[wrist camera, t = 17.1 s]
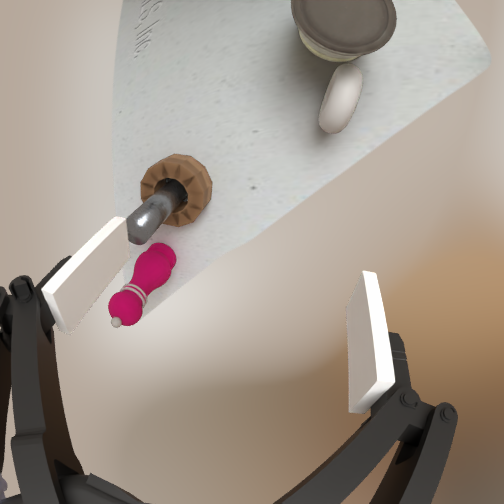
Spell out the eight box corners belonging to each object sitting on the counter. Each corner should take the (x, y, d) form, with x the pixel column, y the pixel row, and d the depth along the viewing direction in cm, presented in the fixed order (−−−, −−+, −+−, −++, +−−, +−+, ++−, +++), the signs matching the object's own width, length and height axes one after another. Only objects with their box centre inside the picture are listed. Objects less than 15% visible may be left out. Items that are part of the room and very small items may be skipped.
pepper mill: (143, 239, 57) (88, 306, 41) (174, 240, 56) (123, 312, 39) (152, 268, 61) (105, 337, 45) (182, 270, 60) (139, 344, 43)
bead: (153, 151, 46) (140, 159, 43) (214, 159, 45) (205, 168, 42) (153, 208, 53) (142, 219, 49) (209, 219, 52) (201, 231, 48)
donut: (336, 130, 39) (343, 145, 31) (314, 122, 39) (315, 134, 31) (359, 70, 34) (373, 68, 25) (336, 61, 34) (343, 56, 25)
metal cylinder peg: (171, 172, 48) (120, 215, 35) (193, 176, 48) (147, 221, 35) (170, 193, 50) (123, 241, 37) (191, 197, 50) (149, 247, 37)
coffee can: (292, 0, 29) (284, -32, 18) (365, 0, 27) (388, -29, 15) (301, 63, 35) (297, 56, 23) (373, 64, 32) (402, 59, 21)
